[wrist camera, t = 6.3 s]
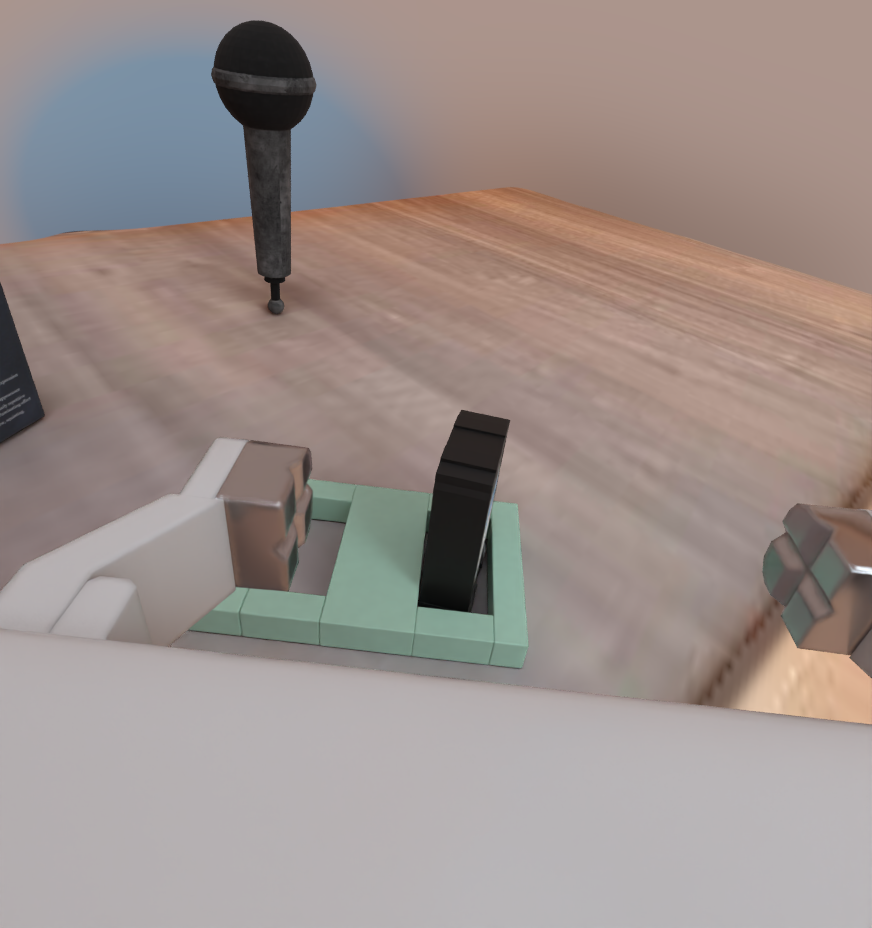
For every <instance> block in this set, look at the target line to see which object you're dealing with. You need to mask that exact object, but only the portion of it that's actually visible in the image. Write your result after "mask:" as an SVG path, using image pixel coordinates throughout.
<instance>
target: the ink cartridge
mask: <svg viewBox="0 0 872 928" xmlns="http://www.w3.org/2000/svg"><path fill="white" fill-rule="evenodd" d="M509 423H510V420H508V419H503V418H498V417H493V416H489V415H484V414H479V413H474V412H469V411H465V410H461V412H460V414H459V415H458V417H457V419H456V421H455V424H454V427H453V430H452V432H451V435H450V437H449V440H448V442H447V445H446V446H445V448H444V451H443V453H442V456H441V460H440V463H439V466H438V469H437V472H436V477H435V484H434V490H433V497H432V505H431V513H430V521H429V529H428V537H427V545H426V553H425V561H424V569H423V576H422V584H421V592H420V600H419V607H425V608H434V609H442V610H451V611H459V612H468V613H470V612H471V608H472V604H473V600H474V596H475V592H476V587H477V584H476V579H477V575H478V570H479V568H481V567H482V563H483V559H484V555H485V550H486V546H487V542H488V539H486V535H487V531H488V526H489V521H490V516H491V511H492V506H493V501H494V496H495V491H496V486H497V482H498V477H499V472H500V467H501V462H502V457H503V452H504V447H505V442H506V438H507V433H508V428H509Z"/></svg>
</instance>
